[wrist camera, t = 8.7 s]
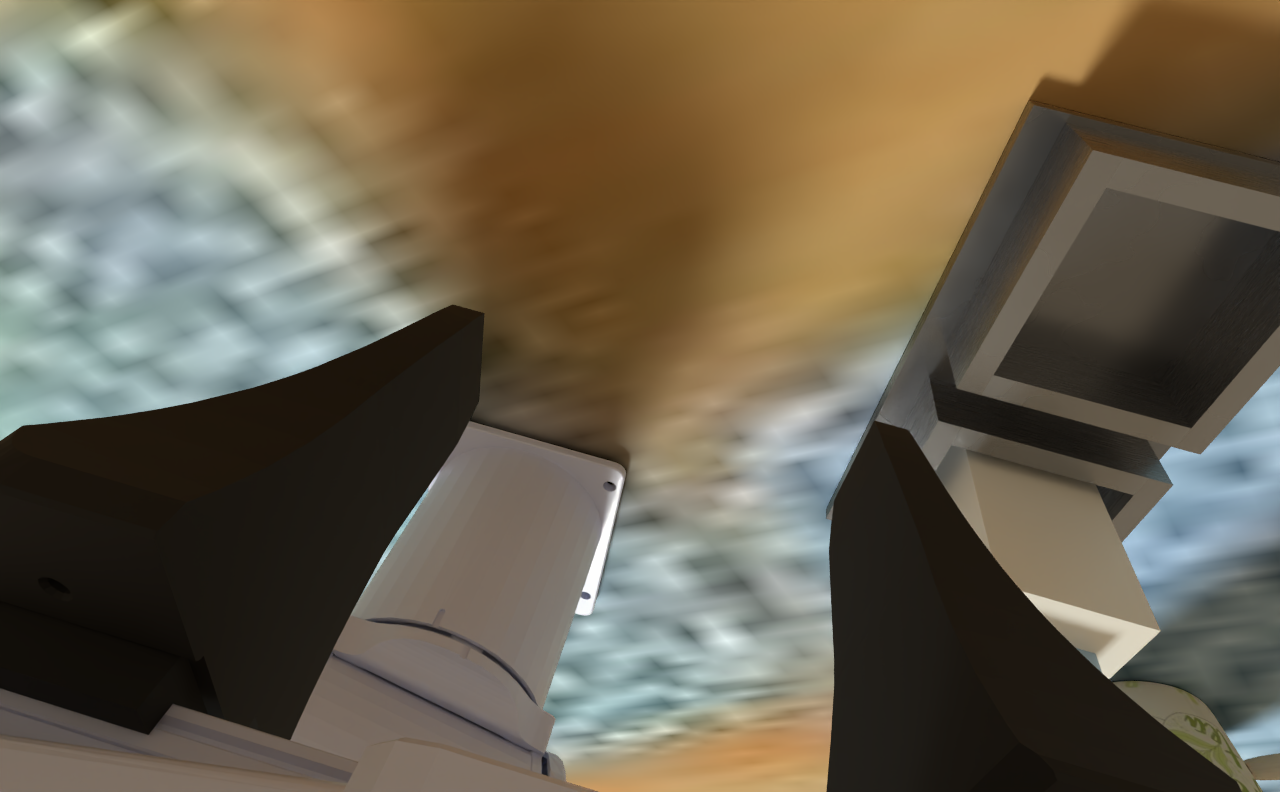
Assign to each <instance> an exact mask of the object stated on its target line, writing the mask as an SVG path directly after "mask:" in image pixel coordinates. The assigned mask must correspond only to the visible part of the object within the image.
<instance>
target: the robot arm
mask: <svg viewBox="0 0 1280 792" xmlns="http://www.w3.org/2000/svg"><path fill="white" fill-rule="evenodd" d="M483 328H484V313H481V312H478V311H474V310H470V309H467V308H463V307H460V306H456V305H451V306H448V307H446V308H444V309H441V310H439V311H437V312H435V313H433V314H431V315H429V316H427V317H425V318H423V319H421V320H419V321H417V322H415V323H413V324H411V325H409V326H407V327H405V328H403V329H401V330H399V331H397V332H394V333H392V334H390V335H388V336H386V337H384V338H382V339H380V340H378V341H376V342H373V343H371V344H369V345H367V346H365V347H363V348H360V349H358V350H355V351H353V352H351V353H348V354H346V355H343V356H341V357H339V358H336V359H334V360H331V361H329V362H327V363H324V364H322V365H320V366H317V367H314V368H312V369H309V370H306V371H304V372H301V373H298V374H295V375H292V376H289V377H286V378H283V379H280V380H277V381H273V382H270V383H267V384H264V385H261V386H257V387H254V388H250V389H246V390H242V391H238V392H234V393H230V394H226V395H222V396H218V397H214V398H210V399H206V400H202V401H198V402H193V403H188V404H183V405H178V406H173V407H168V408H162V409H157V410H151V411H145V412H138V413H132V414H126V415H119V416H112V417H104V418H95V419H86V420H76V421H67V422H57V423H48V424H37V425H25V426H22V427H20V428H19V429H17V430H16V431H14V432H13V433H11V434H10V435H8V436H7V437H5V438H4V439H3V440H1V441H0V792H598V791H594V790H591V789H588V788H585V787H581V786H578V785H575V784H572V783H568V782H567V781H566V773H565V768H564V765H563V761H562V760H561V759H560V758H559V757H558V756H557V755H555V754H552V753H550V752H547V751H545V750H546V747H547V744H548V741H549V738H550V735H551V731H552V728H553V725H554V722H555V718H554V716H552V715H551V714H549V713H547V712H545V711H544V710H542V709H543V706H544V703H545V700H546V697H547V694H548V691H549V688H550V685H551V682H552V679H553V676H554V673H555V670H556V667H557V664H558V661H559V658H560V656H561V653H562V650H563V647H564V644H565V641H566V638H567V635H568V632H569V629H570V626H571V623H572V620H573V617H574V614H575V613H577V614H580V615H589V614H591V613H592V612H593V609H594V606H595V602H596V598H597V594H598V590H599V585H600V581H601V577H602V573H603V569H604V565H605V560H606V556H607V552H608V548H609V544H610V540H611V535H612V531H613V527H614V523H615V519H616V515H617V510H618V506H619V502H620V498H621V494H622V490H623V485H624V481H625V477H626V471H625V469H624V467H623V466H621V465H620V464H618V463H616V462H612V461H609V460H605V459H602V458H598V457H595V456H591V455H588V454H584V453H581V452H577V451H574V450H570V449H566V448H563V447H559V446H556V445H552V444H549V443H545V442H542V441H538V440H535V439H531V438H528V437H524V436H521V435H517V434H514V433H510V432H506V431H503V430H499V429H496V428H492V427H489V426H485V425H482V424H478V423H475V422H471V421H470V419H471V417H472V414H473V412H474V410H475V408H476V406H477V404H478V402H479V393H480V376H481V360H482V344H483ZM607 482H612V483H614V484H615V485H611V484H609V483H607ZM427 488H428V493H427V495H426V497H425V498H424V500H423V501H422V503H421V504H420V506H419V507H418V509H417V511H416V512H415V514H414V515H413V517H412V518H411V520H410V521H409V523H408V525H407V526H406V528H405V529H404V531H403V532H402V534H401V535H400V537H399V539H398V540H397V542H396V543H395V545H394V546H393V548H392V549H391V551H390V553H389V554H388V556H387V557H386V559H385V560H384V562H383V563H382V565H381V567H380V568H379V570H378V571H377V573H376V574H375V576H374V577H373V579H372V581H371V582H370V584H369V585H368V587H367V588H366V590H365V591H364V593H363V595H362V596H361V594H362V592H363V590H364V588H365V586H366V585H367V583H368V581H369V579H370V577H371V575H372V574H373V572H374V570H375V568H376V566H377V564H378V562H379V561H380V559H381V557H382V555H383V553H384V552H385V550H386V548H387V547H388V545H389V544H390V542H391V540H392V539H393V537H394V536H395V534H396V532H397V531H398V530H399V528H400V527H401V525H402V524H403V522H404V521H405V520H406V518H407V517H408V515H409V514H410V512H411V511H412V509H413V508H414V507H415V505H416V504H417V502H418V501H419V499H420V498H421V497H422V495H423V494H424V492H425V491H426V489H427ZM829 560H830V584H831V605H832V625H833V645H834V699H833V715H832V731H831V745H830V757H829V769H828V781H827V792H1242V791H1241V789H1240V787H1239V785H1238V783H1237V781H1235V780H1234V779H1233V778H1231V777H1230V776H1229V775H1227V774H1226V773H1225V772H1224V771H1222V770H1221V769H1220V768H1218V767H1217V766H1216V765H1214V764H1213V763H1212V762H1210V761H1209V760H1208V759H1206V758H1205V757H1204V756H1203V755H1201V754H1200V753H1199V752H1197V751H1196V750H1195V749H1193V748H1192V747H1191V746H1189V745H1188V744H1187V743H1185V742H1184V741H1183V740H1182V739H1180V738H1179V737H1178V736H1176V735H1175V734H1174V733H1172V732H1171V731H1170V730H1168V729H1167V728H1166V727H1164V726H1163V725H1162V724H1161V723H1160V722H1158V721H1157V720H1156V719H1155V718H1153V717H1152V716H1151V715H1150V714H1149V713H1148V712H1146V711H1145V710H1144V709H1143V708H1142V707H1141V706H1139V705H1138V704H1137V703H1136V702H1135V701H1133V700H1132V699H1131V698H1130V697H1129V696H1128V695H1126V694H1125V693H1124V692H1123V691H1122V690H1121V689H1119V688H1118V687H1117V686H1116V685H1115V684H1114V683H1113V682H1112V681H1110V680H1109V679H1108V678H1107V677H1106V676H1105V675H1104V674H1103V673H1102V672H1100V671H1099V670H1098V669H1097V668H1096V667H1095V666H1094V665H1093V664H1092V663H1091V662H1090V661H1089V660H1088V659H1087V658H1086V657H1085V656H1084V655H1082V654H1081V653H1080V652H1079V651H1078V650H1077V649H1076V648H1075V647H1074V646H1073V645H1072V644H1071V643H1070V642H1069V641H1068V640H1067V639H1066V638H1065V637H1064V636H1063V635H1062V634H1061V633H1060V632H1059V631H1058V630H1057V629H1056V628H1055V627H1054V626H1053V625H1052V624H1051V623H1050V622H1049V621H1048V620H1047V618H1046V617H1045V616H1044V615H1043V614H1042V613H1041V612H1040V611H1039V610H1038V609H1037V608H1036V606H1035V605H1034V604H1033V603H1032V602H1031V601H1030V600H1029V598H1028V597H1027V596H1026V595H1025V594H1024V593H1023V592H1022V591H1021V589H1020V588H1019V587H1018V586H1017V585H1016V584H1015V583H1014V581H1013V580H1012V579H1011V578H1010V577H1009V575H1008V574H1007V573H1006V572H1005V571H1004V569H1003V568H1002V567H1001V566H1000V564H999V563H998V562H997V560H996V559H995V558H994V556H993V555H992V554H991V552H990V551H989V550H988V549H987V547H986V546H985V545H984V543H983V542H982V541H981V539H980V538H979V537H978V535H977V534H976V532H975V531H974V530H973V528H972V527H971V525H970V524H969V523H968V521H967V520H966V518H965V517H964V515H963V514H962V512H961V511H960V509H959V508H958V506H957V505H956V503H955V502H954V500H953V499H952V497H951V496H950V494H949V493H948V491H947V490H946V488H945V487H944V485H943V483H942V482H941V480H940V479H939V477H938V476H937V474H936V472H935V471H934V469H933V468H932V466H931V464H930V463H929V461H928V460H927V458H926V456H925V455H924V453H923V452H922V450H921V448H920V447H919V445H918V444H917V442H916V440H915V439H914V437H913V436H912V434H911V433H910V431H909V430H907V429H904V428H900V427H896V426H893V425H889V424H886V423H882V422H878V421H875V420H874V422H873V424H872V426H871V428H870V430H869V432H868V434H867V436H866V438H865V440H864V442H863V444H862V446H861V448H860V450H859V452H858V454H857V456H856V458H855V460H854V462H853V464H852V466H851V468H850V470H849V472H848V474H847V476H846V478H845V480H844V482H843V484H842V486H841V488H840V490H839V492H838V494H837V496H836V498H835V500H834V504H833V513H832V523H831V534H830V546H829ZM360 596H361V598H360ZM359 598H360V599H359ZM358 600H359V601H358ZM357 601H358V602H357ZM356 603H357V604H356Z"/></svg>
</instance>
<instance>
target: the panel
mask: <svg viewBox="0 0 1280 792" xmlns="http://www.w3.org/2000/svg"><path fill="white" fill-rule="evenodd" d="M1279 366H1280V162H1277V161H1273V160H1269V159H1265V158H1261V157H1257V156H1253V155H1249V154H1245V153H1241V152H1237V151H1233V150H1229V149H1225V148H1221V147H1217V146H1213V145H1209V144H1205V143H1201V142H1197V141H1193V140H1189V139H1185V138H1181V137H1177V136H1172V135H1168V134H1164V133H1160V132H1156V131H1152V130H1148V129H1144V128H1140V127H1136V126H1132V125H1128V124H1124V123H1120V122H1116V121H1112V120H1108V119H1104V118H1100V117H1096V116H1092V115H1088V114H1084V113H1080V112H1076V111H1072V110H1068V109H1063V108H1059V107H1055V106H1051V105H1047V104H1043V103H1039V102H1035V101H1031V100H1029V101H1028V103H1027V105H1026V108H1025V110H1024V112H1023V114H1022V116H1021V118H1020V120H1019V122H1018V124H1017V126H1016V128H1015V130H1014V132H1013V134H1012V136H1011V138H1010V140H1009V142H1008V144H1007V146H1006V148H1005V150H1004V152H1003V154H1002V156H1001V158H1000V160H999V162H998V164H997V166H996V168H995V170H994V172H993V174H992V176H991V178H990V180H989V182H988V184H987V186H986V188H985V190H984V192H983V194H982V196H981V198H980V200H979V202H978V204H977V206H976V208H975V210H974V212H973V214H972V216H971V218H970V220H969V222H968V224H967V226H966V229H965V231H964V233H963V235H962V237H961V239H960V241H959V243H958V245H957V247H956V249H955V251H954V253H953V255H952V257H951V259H950V261H949V263H948V265H947V267H946V269H945V271H944V273H943V275H942V277H941V279H940V281H939V283H938V285H937V287H936V289H935V291H934V293H933V295H932V297H931V299H930V301H929V303H928V305H927V307H926V309H925V311H924V313H923V315H922V317H921V319H920V321H919V323H918V325H917V327H916V329H915V331H914V333H913V335H912V337H911V339H910V341H909V343H908V345H907V348H906V350H905V352H904V354H903V356H902V358H901V360H900V362H899V364H898V366H897V368H896V370H895V372H894V374H893V376H892V378H891V380H890V382H889V384H888V386H887V388H886V390H885V392H884V394H883V396H882V398H881V400H880V402H879V404H878V406H877V408H876V410H875V412H874V414H873V416H872V418H871V420H870V422H869V424H868V426H867V428H866V430H865V432H864V434H863V436H862V438H861V440H860V442H859V444H858V446H857V448H856V450H855V452H854V454H853V456H852V458H851V460H850V462H849V464H848V467H847V469H846V471H845V473H844V475H843V477H842V479H841V481H840V483H839V485H838V487H837V489H836V491H835V493H834V495H833V497H832V499H831V501H830V503H829V505H828V507H827V509H826V519H829V520H832V513H833V504H834V500H835V498H836V496H837V494H838V492H839V490H840V488H841V486H842V484H843V482H844V480H845V478H846V476H847V474H848V472H849V470H850V468H851V466H852V464H853V462H854V460H855V458H856V456H857V454H858V452H859V450H860V448H861V446H862V444H863V442H864V440H865V438H866V436H867V434H868V432H869V430H870V428H871V426H872V424H873V422H874V420H875V421H878V422H882V423H886V424H889V425H893V426H896V427H900V428H904V429H907V430H909V431H910V433H911V434H912V436H913V437H914V439H915V440H916V442H917V444H918V445H919V447H920V448H921V450H922V452H923V453H924V455H925V456H926V458H927V460H928V461H929V463H930V464H931V466H932V468H933V469H934V471H936V470H937V468H938V466H939V465H940V463H941V461H942V460H943V458H944V456H945V455H946V453H947V451H948V450H949V448H950V446H951V445H953V446H957V447H960V448H964V449H967V450H971V451H975V452H978V453H982V454H986V455H989V456H993V457H997V458H1000V459H1004V460H1007V461H1011V462H1015V463H1018V464H1022V465H1026V466H1029V467H1033V468H1037V469H1040V470H1044V471H1048V472H1051V473H1055V474H1058V475H1062V476H1066V477H1069V478H1073V479H1077V480H1080V481H1084V482H1088V483H1091V484H1095V485H1096V487H1097V489H1098V491H1099V493H1100V496H1101V498H1102V500H1103V502H1104V505H1105V507H1106V509H1107V511H1108V514H1109V516H1110V518H1111V520H1112V523H1113V525H1114V527H1115V529H1116V532H1117V534H1118V536H1119V538H1120V541H1121V543H1122V542H1123V540H1124V539H1125V538H1126V537H1127V536H1128V535H1129V534H1130V533H1131V532H1132V530H1133V529H1134V528H1135V527H1136V526H1137V525H1138V524H1139V523H1140V521H1141V520H1142V519H1143V518H1144V517H1145V516H1146V515H1147V514H1148V513H1149V511H1150V510H1151V509H1152V508H1153V507H1154V506H1155V505H1156V504H1157V502H1158V501H1159V500H1160V499H1161V498H1162V497H1163V496H1164V495H1165V494H1166V492H1167V491H1168V490H1169V489H1170V488H1171V487H1172V486H1173V484H1172V482H1171V480H1170V479H1169V477H1168V475H1167V473H1166V472H1165V470H1164V468H1163V466H1162V465H1161V463H1160V461H1159V460H1160V459H1161V458H1162V456H1163V455H1164V454H1165V453H1166V452H1167V451H1168V449H1169V448H1170V447H1175V448H1179V449H1182V450H1186V451H1190V452H1194V453H1197V454H1201V453H1202V452H1203V451H1204V450H1205V449H1206V448H1207V447H1208V445H1209V444H1210V443H1211V442H1212V441H1213V440H1214V439H1215V438H1216V437H1217V435H1218V434H1219V433H1220V432H1221V431H1222V430H1223V429H1224V428H1225V426H1226V425H1227V424H1228V423H1229V422H1230V421H1231V420H1232V419H1233V418H1234V416H1235V415H1236V414H1237V413H1238V412H1239V411H1240V410H1241V409H1242V407H1243V406H1244V405H1245V404H1246V403H1247V402H1248V401H1249V400H1250V399H1251V397H1252V396H1253V395H1254V394H1255V393H1256V392H1257V391H1258V390H1259V388H1260V387H1261V386H1262V385H1263V384H1264V383H1265V382H1266V381H1267V380H1268V378H1269V377H1270V376H1271V375H1272V374H1273V373H1274V372H1275V371H1276V369H1277V368H1278V367H1279Z"/></svg>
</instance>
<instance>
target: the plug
mask: <svg viewBox="0 0 1280 792" xmlns="http://www.w3.org/2000/svg"><path fill="white" fill-rule="evenodd" d="M935 472H936V474H937V476H938V477H939V479H940V480H941V482H942V483H943V485H944V487H945V488H946V490H947V491H948V493H949V494H950V496H951V497H952V499H953V500H954V502H955V503H956V505H957V506H958V508H959V509H960V511H961V512H962V514H963V515H964V517H965V518H966V520H967V521H968V523H969V524H970V525H971V527H972V528H973V530H974V531H975V532H976V534H977V535H978V537H979V538H980V539H981V541H982V542H983V543H984V545H985V546H986V547H987V549H988V550H989V551H990V552H991V554H992V555H993V556H994V558H995V559H996V560H997V562H998V563H999V564H1000V566H1001V567H1002V568H1003V569H1004V571H1005V572H1006V573H1007V574H1008V575H1009V577H1010V578H1011V579H1012V580H1013V581H1014V583H1015V584H1016V585H1017V586H1018V587H1019V588H1020V589H1021V591H1022V592H1023V593H1024V594H1025V595H1026V596H1027V597H1028V598H1029V600H1030V601H1031V602H1032V603H1033V604H1034V605H1035V606H1036V608H1037V609H1038V610H1039V611H1040V612H1041V613H1042V614H1043V615H1044V616H1045V617H1046V618H1047V620H1048V621H1049V622H1050V623H1051V624H1052V625H1053V626H1054V627H1055V628H1056V629H1057V630H1058V631H1059V632H1060V633H1061V634H1062V635H1063V636H1064V637H1065V638H1066V639H1067V640H1068V641H1069V642H1070V643H1071V644H1072V645H1073V646H1074V647H1075V648H1076V649H1077V650H1078V651H1079V652H1080V653H1081V654H1082V655H1084V656H1085V657H1086V658H1087V659H1088V660H1089V661H1090V662H1091V663H1092V664H1093V665H1094V666H1095V667H1096V668H1097V669H1098V670H1099V671H1100V672H1102V673H1103V674H1104V675H1105V676H1106V677H1107V678H1108V679H1110V678H1111V677H1112V676H1113V675H1114V674H1115V673H1116V672H1117V671H1118V670H1119V669H1120V668H1122V667H1123V666H1124V665H1125V664H1126V663H1127V662H1128V661H1129V660H1130V659H1131V658H1132V657H1133V656H1134V655H1136V654H1137V653H1138V652H1139V651H1140V650H1141V649H1142V648H1143V647H1144V646H1145V645H1146V644H1147V643H1148V642H1149V641H1151V640H1152V639H1153V638H1154V637H1155V636H1156V635H1157V634H1158V633H1159V632H1160V631H1161V630H1160V628H1159V626H1158V624H1157V621H1156V619H1155V617H1154V615H1153V612H1152V610H1151V608H1150V606H1149V603H1148V601H1147V599H1146V597H1145V594H1144V592H1143V590H1142V588H1141V585H1140V583H1139V581H1138V579H1137V576H1136V574H1135V572H1134V570H1133V568H1132V565H1131V563H1130V561H1129V559H1128V556H1127V554H1126V552H1125V550H1124V547H1123V545H1122V543H1121V541H1120V538H1119V536H1118V534H1117V532H1116V529H1115V527H1114V525H1113V523H1112V520H1111V518H1110V516H1109V514H1108V511H1107V509H1106V507H1105V505H1104V502H1103V500H1102V498H1101V496H1100V493H1099V491H1098V489H1097V487H1096V485H1095V484H1091V483H1088V482H1084V481H1080V480H1077V479H1073V478H1069V477H1066V476H1062V475H1058V474H1055V473H1051V472H1048V471H1044V470H1040V469H1037V468H1033V467H1029V466H1026V465H1022V464H1018V463H1015V462H1011V461H1007V460H1004V459H1000V458H997V457H993V456H989V455H986V454H982V453H978V452H975V451H971V450H967V449H964V448H960V447H957V446H953V445H951V446H950V448H949V450H948V451H947V453H946V455H945V456H944V458H943V460H942V461H941V463H940V465H939V466H938V468H937V470H936V471H935Z"/></svg>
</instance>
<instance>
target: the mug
mask: <svg viewBox="0 0 1280 792" xmlns="http://www.w3.org/2000/svg"><path fill="white" fill-rule="evenodd" d="M1113 683H1114V684H1115V685H1116V686H1117V687H1118V688H1119V689H1121V690H1122V691H1123V692H1124V693H1125V694H1126V695H1128V696H1129V697H1130V698H1131V699H1132V700H1133V701H1135V702H1136V703H1137V704H1138V705H1139V706H1141V707H1142V708H1143V709H1144V710H1145V711H1146V712H1148V713H1149V714H1150V715H1151V716H1152V717H1153V718H1155V719H1156V720H1157V721H1158V722H1160V723H1161V724H1162V725H1163V726H1164V727H1166V728H1167V729H1168V730H1170V731H1171V732H1172V733H1174V734H1175V735H1176V736H1178V737H1179V738H1180V739H1182V740H1183V741H1184V742H1185V743H1187V744H1188V745H1189V746H1191V747H1192V748H1193V749H1195V750H1196V751H1197V752H1199V753H1200V754H1201V755H1203V756H1204V757H1205V758H1206V759H1208V760H1209V761H1210V762H1212V763H1213V764H1214V765H1216V766H1217V767H1218V768H1220V769H1221V770H1222V771H1224V772H1225V773H1226V774H1227V775H1229V776H1230V777H1231V778H1233V779H1234V780H1235V781H1237V783H1238V785H1239V787H1240V789H1241V791H1242V792H1263V791H1262V790H1261V788H1260V786H1259V785H1258V783H1257V782H1256V780H1280V753H1279V754H1271V755H1265V756H1259V757H1255V758H1251V759H1247V760H1244V761H1243V760H1242V758H1241V757H1240V755H1239V754H1238V752H1237V750H1236V749H1235V747H1234V746H1233V744H1232V743H1231V741H1230V739H1229V738H1228V736H1227V735H1226V733H1225V732H1224V730H1223V728H1222V727H1221V725H1220V724H1219V722H1218V721H1217V719H1216V718H1215V716H1214V715H1213V713H1212V712H1211V711H1210V709H1209V708H1208V707H1207V706H1206V705H1205V704H1204V703H1203V702H1202V701H1201V700H1199V699H1198V698H1197V697H1195V696H1194V695H1192V694H1190V693H1188V692H1186V691H1184V690H1181V689H1178V688H1176V687H1172V686H1169V685H1164V684H1160V683H1153V682H1143V681H1120V682H1113Z"/></svg>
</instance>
